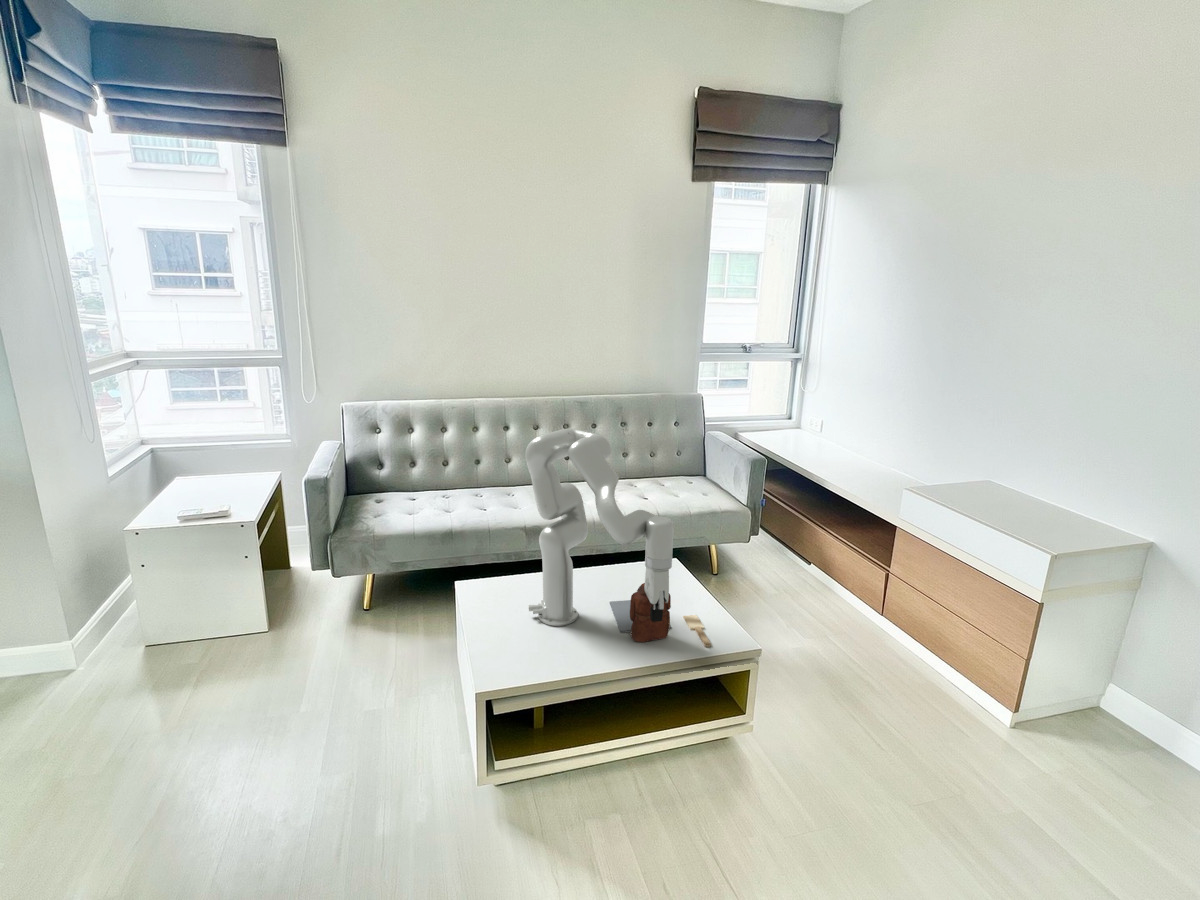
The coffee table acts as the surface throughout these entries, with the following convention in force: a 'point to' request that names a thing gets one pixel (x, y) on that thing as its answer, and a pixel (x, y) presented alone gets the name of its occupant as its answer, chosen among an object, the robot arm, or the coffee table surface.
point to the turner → (697, 628)
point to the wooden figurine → (647, 618)
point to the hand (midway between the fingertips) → (656, 620)
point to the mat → (622, 615)
